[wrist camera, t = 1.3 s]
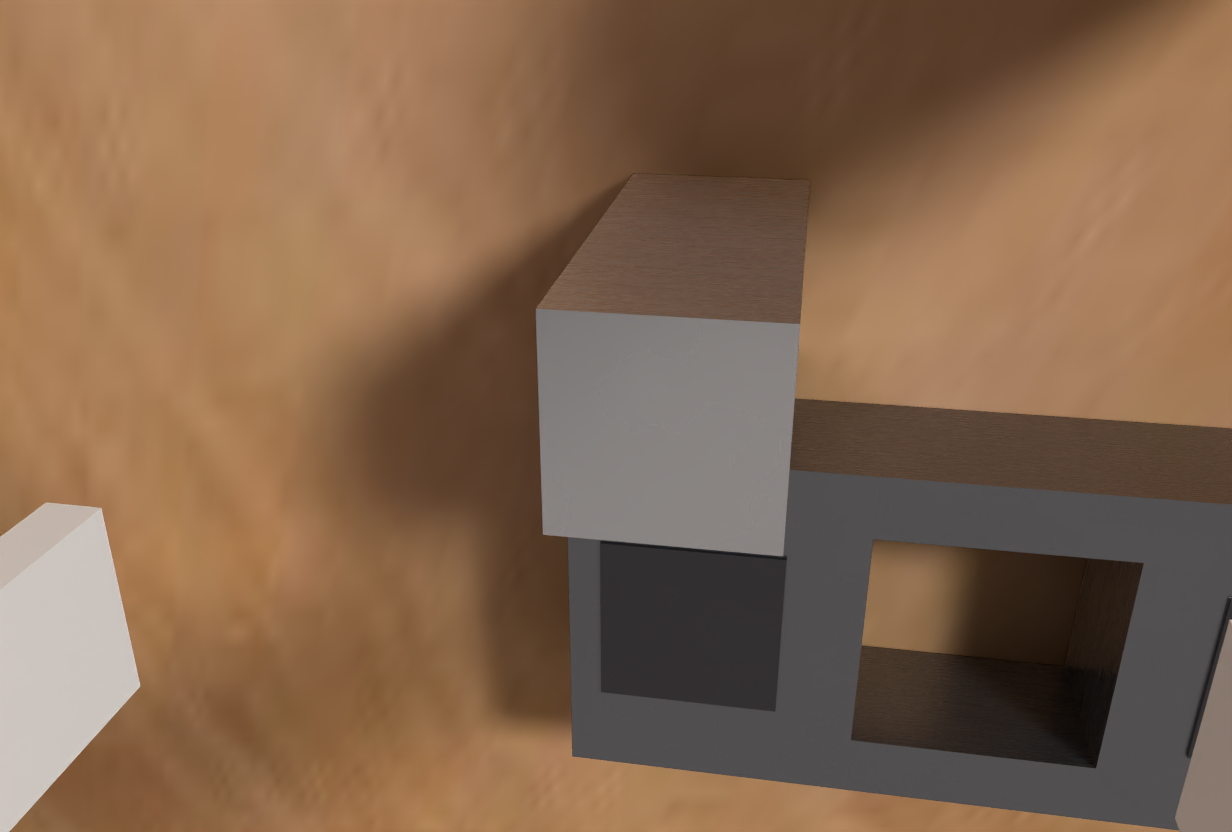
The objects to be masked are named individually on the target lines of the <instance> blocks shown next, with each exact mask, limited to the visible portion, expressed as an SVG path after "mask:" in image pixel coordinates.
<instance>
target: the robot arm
mask: <svg viewBox="0 0 1232 832" xmlns="http://www.w3.org/2000/svg"><path fill="white" fill-rule="evenodd" d="M139 687H140V682H139V677H138V673H137V668H136V664H135V659H134V655H133V650H132V646H131V641H130V636H129V632H128V627H127V623H126V618H125V614H124V609H123V605H122V600H121V596H120V591H119V587H118V582H117V578H116V573H115V568H114V564H113V559H112V555H111V550H110V546H109V541H108V537H107V532H106V528H105V523H104V519H103V514H102V509H101V508H97V507H87V506H77V505H67V504H56V503H45V504H43V505H42V506H41V507H39V508H38V509H37V510H35V511H34V512H33V513H31V514H30V515H29V516H27V517H26V518H25V519H23V520H22V521H21V522H19V523H18V524H17V525H15V526H14V527H13V528H11V529H10V530H9V531H7V532H6V533H5V534H3V535H2V536H1V537H0V832H9V831H10V830H11V829H12V828H13V827H14V826H15V825H16V824H17V823H18V821H19V820H20V819H21V818H22V817H23V816H24V815H25V814H26V813H27V811H28V810H29V809H30V808H31V807H32V806H33V805H34V804H35V803H36V801H37V800H38V799H39V798H40V797H41V796H42V795H43V794H44V793H45V791H46V790H47V789H48V788H49V787H50V786H51V785H52V784H53V783H54V782H55V780H56V779H57V778H58V777H59V776H60V775H61V774H62V773H63V772H64V770H65V769H66V768H67V767H68V766H69V765H70V764H71V763H72V762H73V760H74V759H75V758H76V757H77V756H78V755H79V754H80V753H81V752H82V750H83V749H84V748H85V747H86V746H87V745H88V744H89V743H90V742H91V740H92V739H93V738H94V737H95V736H96V735H97V734H98V733H99V732H100V730H101V729H102V728H103V727H104V726H105V725H106V724H107V723H108V722H109V720H110V719H111V718H112V717H113V716H114V715H115V714H116V713H117V712H118V710H119V709H120V708H121V707H122V706H123V705H124V704H125V703H126V702H127V701H128V699H129V698H130V697H131V696H132V695H133V694H134V693H135V692H136V691H137V689H138V688H139ZM1175 819H1176V822H1177V825H1178V828H1179V830H1180V832H1232V620H1229V624H1228V627H1227V631H1226V635H1225V638H1224V642H1223V645H1222V649H1221V653H1220V656H1219V660H1218V664H1217V667H1216V671H1215V674H1214V678H1213V682H1212V685H1211V689H1210V692H1209V696H1208V700H1207V703H1206V707H1205V711H1204V714H1203V718H1202V721H1201V725H1200V729H1199V732H1198V736H1197V740H1196V743H1195V747H1194V750H1193V754H1192V758H1191V761H1190V765H1189V769H1188V772H1187V776H1186V779H1185V783H1184V787H1183V790H1182V794H1181V798H1180V801H1179V805H1178V808H1177V812H1176V816H1175Z"/></svg>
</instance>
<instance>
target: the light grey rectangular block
mask: <svg viewBox="0 0 1232 832" xmlns="http://www.w3.org/2000/svg"><path fill="white" fill-rule="evenodd" d="M809 187H810V180H792V179H766V178H740V177H714V176H687V175H661V174H635V173H634V174H633V175H632V176H631V178H630V179H629V180H628V182H627V183H626V185H625V186H624V187H623V189H622V190H621V192H620V193H619V194H618V196H617V197H616V198H615V200H614V201H613V203H612V204H611V205H610V207H609V208H608V210H607V211H606V212H605V214H604V215H603V216H602V218H601V219H600V221H599V222H598V223H597V225H596V226H595V227H594V229H593V230H592V232H591V233H590V234H589V236H588V237H587V239H586V240H585V241H584V243H583V244H582V245H581V247H580V248H579V250H578V251H577V252H576V254H575V255H574V257H573V258H572V259H571V261H570V262H569V263H568V265H567V266H566V268H565V269H564V270H563V272H562V273H561V275H560V276H559V277H558V279H557V280H556V281H555V283H554V284H553V286H552V287H551V288H550V290H549V291H548V293H547V294H546V295H545V297H544V298H543V299H542V301H541V302H540V304H539V305H538V306H537V308H536V334H537V365H538V396H539V427H540V458H541V490H542V521H543V535H552V536H563V537H574V538H585V539H596V540H607V541H618V542H629V543H640V544H651V545H662V546H673V547H684V548H695V549H707V550H718V551H729V552H740V553H751V554H762V555H773V556H783V551H784V538H785V524H786V510H787V497H788V483H789V470H790V456H791V442H792V429H793V415H794V401H795V388H796V374H797V361H798V347H799V333H800V319H801V305H802V290H803V275H804V261H805V246H806V231H807V216H808V202H809Z"/></svg>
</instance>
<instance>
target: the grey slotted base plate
mask: <svg viewBox="0 0 1232 832" xmlns="http://www.w3.org/2000/svg"><path fill="white" fill-rule="evenodd" d="M873 539H874V540H886V541H897V542H909V543H920V544H932V545H943V546H955V547H966V548H978V549H989V550H1000V551H1012V552H1023V553H1035V554H1046V555H1058V556H1069V557H1081V558H1087V561H1086V566H1085V571H1084V575H1083V580H1082V585H1081V590H1080V595H1079V600H1078V604H1077V609H1076V614H1075V619H1074V624H1073V628H1072V633H1071V638H1070V643H1069V648H1068V653H1067V657H1066V662H1065V666H1056V665H1046V664H1036V663H1026V662H1016V661H1006V660H997V659H987V658H977V657H967V656H957V655H948V654H938V653H928V652H918V651H908V650H899V649H889V648H879V647H869V646H861V644H862V636H863V627H864V618H865V609H866V600H867V591H868V582H869V573H870V564H871V555H872V546H873ZM568 570H569V617H570V664H571V711H572V756H574V757H582V758H591V759H599V760H607V761H615V762H623V763H631V764H640V765H648V766H656V767H664V768H672V769H681V770H689V771H697V772H705V773H713V774H722V775H730V776H738V777H746V778H754V779H763V780H771V781H779V782H787V783H795V784H804V785H812V786H820V787H828V788H836V789H845V790H853V791H861V792H869V793H877V794H886V795H894V796H902V797H910V798H918V799H927V800H935V801H943V802H951V803H959V804H967V805H976V806H984V807H992V808H1000V809H1008V810H1017V811H1025V812H1033V813H1041V814H1049V815H1058V816H1066V817H1074V818H1082V819H1090V820H1099V821H1107V822H1115V823H1123V824H1131V825H1140V826H1148V827H1156V828H1164V829H1172V830H1179V828H1178V825H1177V822H1176V819H1175V816H1176V812H1177V808H1178V805H1179V801H1180V798H1181V794H1182V790H1183V787H1184V783H1185V779H1186V776H1187V772H1188V769H1189V765H1190V761H1191V758H1192V754H1193V750H1194V747H1195V743H1196V740H1197V736H1198V732H1199V729H1200V725H1201V721H1202V718H1203V714H1204V711H1205V707H1206V703H1207V700H1208V696H1209V692H1210V689H1211V685H1212V682H1213V678H1214V674H1215V671H1216V667H1217V664H1218V660H1219V656H1220V653H1221V649H1222V645H1223V642H1224V638H1225V635H1226V631H1227V627H1228V624H1229V620H1232V429H1230V428H1216V427H1201V426H1186V425H1172V424H1157V423H1143V422H1128V421H1113V420H1099V419H1084V418H1070V417H1055V416H1041V415H1026V414H1011V413H997V412H982V411H968V410H953V409H938V408H924V407H909V406H895V405H880V404H866V403H851V402H836V401H822V400H807V399H795V401H794V415H793V429H792V442H791V456H790V470H789V483H788V497H787V510H786V524H785V538H784V551H783V556H773V555H762V554H751V553H740V552H729V551H718V550H707V549H695V548H684V547H673V546H662V545H651V544H640V543H629V542H618V541H607V540H596V539H585V538H574V537H568Z"/></svg>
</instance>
